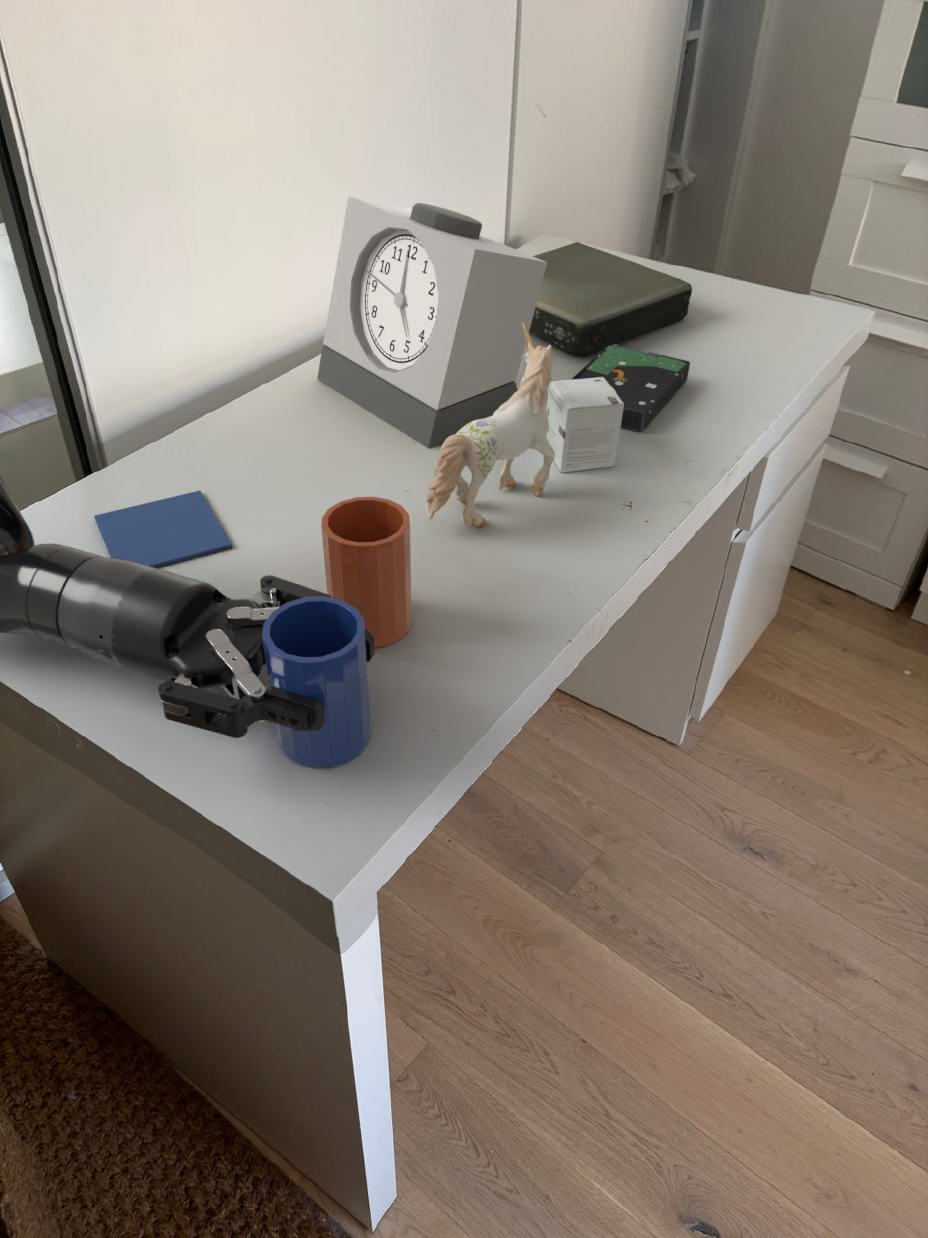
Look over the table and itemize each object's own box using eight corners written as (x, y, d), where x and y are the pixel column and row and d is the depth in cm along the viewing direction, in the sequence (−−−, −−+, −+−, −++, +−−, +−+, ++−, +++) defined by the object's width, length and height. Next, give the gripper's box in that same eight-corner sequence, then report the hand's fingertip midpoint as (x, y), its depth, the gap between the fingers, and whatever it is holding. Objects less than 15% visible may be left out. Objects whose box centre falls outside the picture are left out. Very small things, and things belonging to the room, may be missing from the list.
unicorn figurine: (577, 461, 99) (591, 337, 91) (489, 558, 86) (496, 424, 78) (515, 443, 102) (522, 321, 93) (420, 534, 89) (419, 402, 80)
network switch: (699, 313, 130) (706, 276, 127) (600, 370, 116) (605, 330, 113) (559, 269, 141) (562, 234, 138) (453, 316, 127) (454, 278, 124)
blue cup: (297, 781, 66) (282, 674, 60) (265, 719, 70) (248, 613, 64) (385, 749, 68) (380, 643, 62) (349, 690, 73) (341, 586, 66)
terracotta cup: (349, 658, 76) (341, 554, 69) (318, 610, 80) (308, 508, 74) (424, 633, 78) (424, 531, 72) (391, 588, 83) (387, 488, 76)
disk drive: (643, 436, 104) (687, 381, 114) (647, 413, 102) (691, 359, 112) (555, 413, 108) (606, 361, 118) (557, 390, 106) (608, 339, 116)
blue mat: (119, 577, 83) (118, 574, 83) (94, 518, 90) (93, 515, 89) (232, 547, 87) (231, 544, 86) (200, 493, 93) (200, 490, 93)
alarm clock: (317, 378, 113) (302, 196, 100) (422, 343, 121) (421, 170, 108) (428, 448, 101) (427, 252, 88) (536, 403, 109) (550, 218, 96)
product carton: (541, 444, 102) (547, 380, 97) (596, 438, 103) (603, 374, 98) (560, 474, 97) (566, 408, 93) (616, 467, 99) (626, 401, 94)
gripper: (62, 639, 62) (289, 712, 57) (192, 523, 72) (392, 577, 68) (89, 721, 67) (300, 794, 62) (207, 601, 77) (395, 657, 73)
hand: (347, 681), depth 65 cm, fingers closed on blue cup, 6 cm apart
